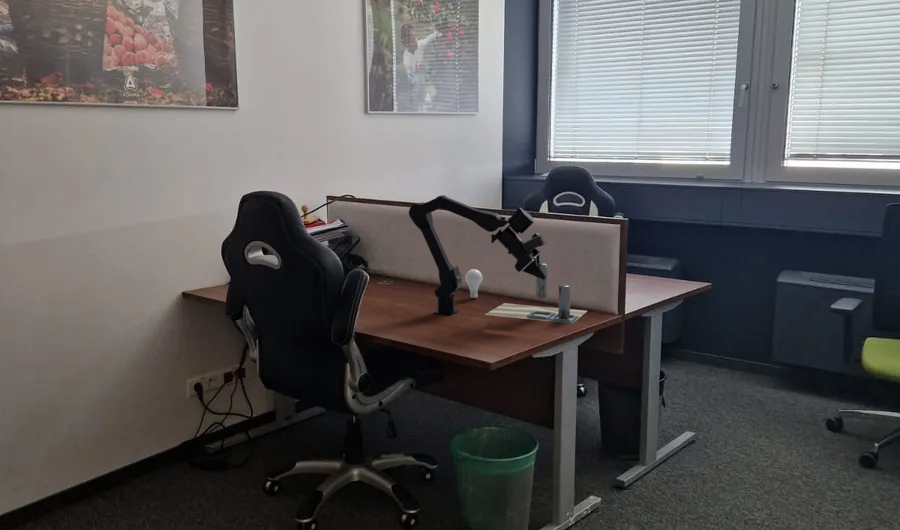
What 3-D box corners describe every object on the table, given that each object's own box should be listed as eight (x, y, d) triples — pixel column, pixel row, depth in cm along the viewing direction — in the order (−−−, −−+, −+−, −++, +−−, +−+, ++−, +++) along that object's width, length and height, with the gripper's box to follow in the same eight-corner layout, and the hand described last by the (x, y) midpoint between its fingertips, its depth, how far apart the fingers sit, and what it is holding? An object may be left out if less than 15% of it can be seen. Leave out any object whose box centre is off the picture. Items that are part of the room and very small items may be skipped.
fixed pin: (567, 321, 239) (568, 287, 237) (556, 320, 241) (557, 286, 239) (571, 318, 242) (571, 285, 240) (560, 317, 244) (560, 284, 242)
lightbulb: (482, 300, 275) (482, 270, 273) (465, 300, 275) (465, 270, 274) (482, 296, 282) (482, 267, 280) (465, 296, 282) (465, 267, 280)
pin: (544, 298, 245) (544, 265, 243) (534, 297, 247) (534, 264, 245) (548, 296, 248) (549, 263, 246) (539, 295, 250) (539, 262, 248)
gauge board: (572, 327, 237) (572, 320, 236) (484, 318, 249) (484, 312, 249) (587, 314, 253) (587, 308, 252) (504, 306, 265) (504, 301, 265)
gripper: (525, 230, 236) (560, 266, 235) (534, 223, 253) (566, 256, 252) (500, 254, 239) (534, 289, 238) (511, 245, 257) (543, 278, 256)
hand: (545, 277), depth 246 cm, fingers closed on pin, 4 cm apart
